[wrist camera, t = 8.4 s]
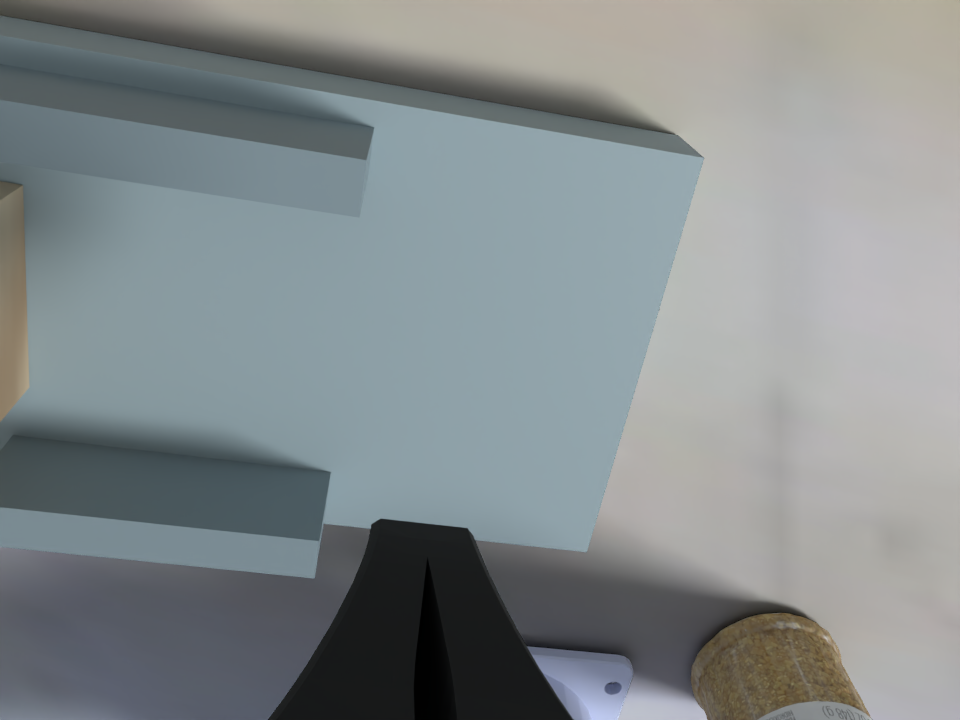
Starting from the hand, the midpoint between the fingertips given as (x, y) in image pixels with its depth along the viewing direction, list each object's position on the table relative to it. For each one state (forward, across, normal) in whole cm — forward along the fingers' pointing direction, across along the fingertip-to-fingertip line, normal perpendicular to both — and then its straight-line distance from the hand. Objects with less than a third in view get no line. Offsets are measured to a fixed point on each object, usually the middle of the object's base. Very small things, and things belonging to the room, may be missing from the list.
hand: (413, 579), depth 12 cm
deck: (+9, +8, 0) cm, 12 cm away
